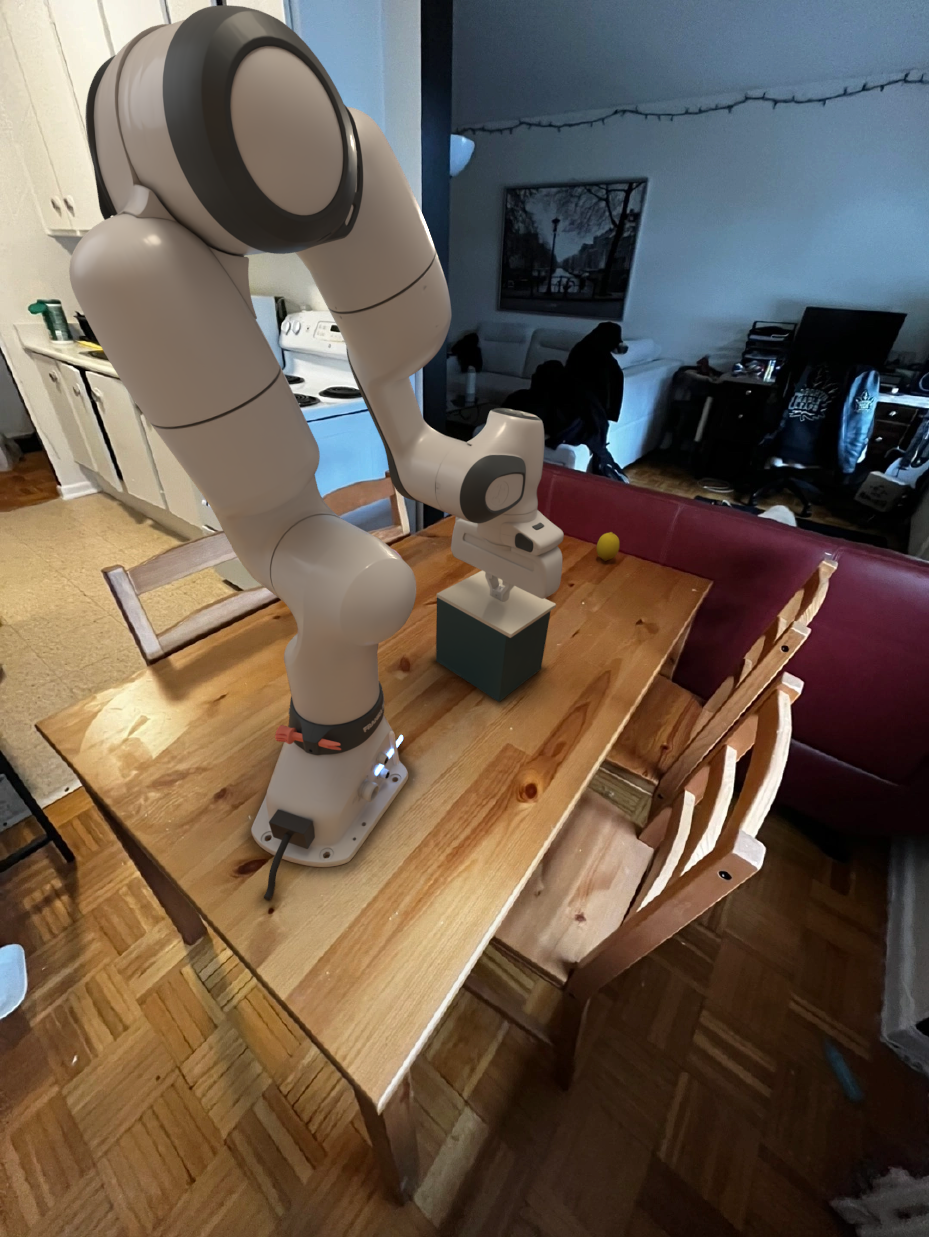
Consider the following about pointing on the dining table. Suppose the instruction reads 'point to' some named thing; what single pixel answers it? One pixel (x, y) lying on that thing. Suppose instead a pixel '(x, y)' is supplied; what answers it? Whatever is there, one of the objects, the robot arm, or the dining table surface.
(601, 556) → the lemon
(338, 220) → the robot arm
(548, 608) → the lid
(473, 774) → the dining table surface
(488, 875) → the dining table surface
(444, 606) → the box
